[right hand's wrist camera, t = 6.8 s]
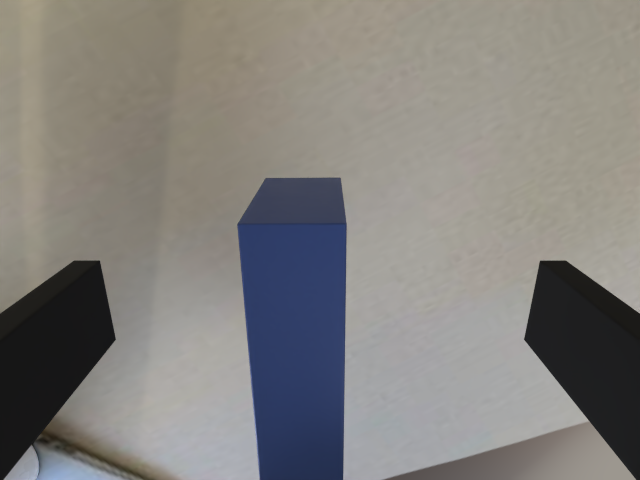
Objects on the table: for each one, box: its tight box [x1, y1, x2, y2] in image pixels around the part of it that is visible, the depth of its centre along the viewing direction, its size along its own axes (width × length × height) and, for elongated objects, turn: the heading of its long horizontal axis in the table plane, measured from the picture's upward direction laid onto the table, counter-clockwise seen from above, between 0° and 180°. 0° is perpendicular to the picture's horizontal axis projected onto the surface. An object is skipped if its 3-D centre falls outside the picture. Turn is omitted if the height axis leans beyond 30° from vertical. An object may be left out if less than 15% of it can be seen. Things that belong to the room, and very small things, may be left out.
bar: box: [237, 178, 347, 480], centre depth 26 cm, size 27×4×8 cm, turn 1°
